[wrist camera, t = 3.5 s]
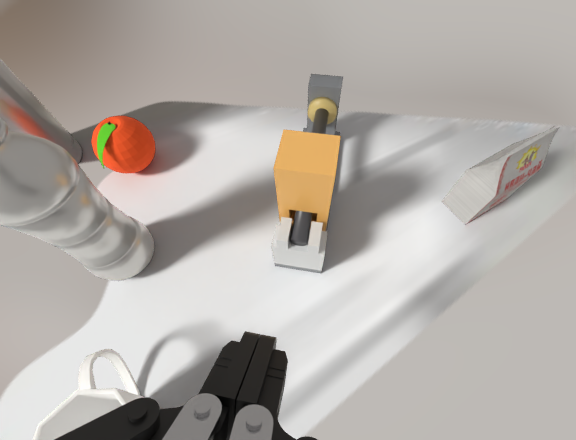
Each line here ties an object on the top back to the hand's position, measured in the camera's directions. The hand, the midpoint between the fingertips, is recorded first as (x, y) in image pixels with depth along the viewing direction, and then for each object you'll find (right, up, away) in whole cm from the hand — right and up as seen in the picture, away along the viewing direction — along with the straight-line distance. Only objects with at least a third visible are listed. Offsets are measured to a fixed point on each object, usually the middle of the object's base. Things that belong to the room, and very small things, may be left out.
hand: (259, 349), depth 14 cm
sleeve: (+3, +7, +17) cm, 19 cm away
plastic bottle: (-16, +2, +19) cm, 25 cm away
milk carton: (+24, +8, +22) cm, 33 cm away
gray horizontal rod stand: (+4, +9, +23) cm, 25 cm away
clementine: (-19, +13, +26) cm, 35 cm away
